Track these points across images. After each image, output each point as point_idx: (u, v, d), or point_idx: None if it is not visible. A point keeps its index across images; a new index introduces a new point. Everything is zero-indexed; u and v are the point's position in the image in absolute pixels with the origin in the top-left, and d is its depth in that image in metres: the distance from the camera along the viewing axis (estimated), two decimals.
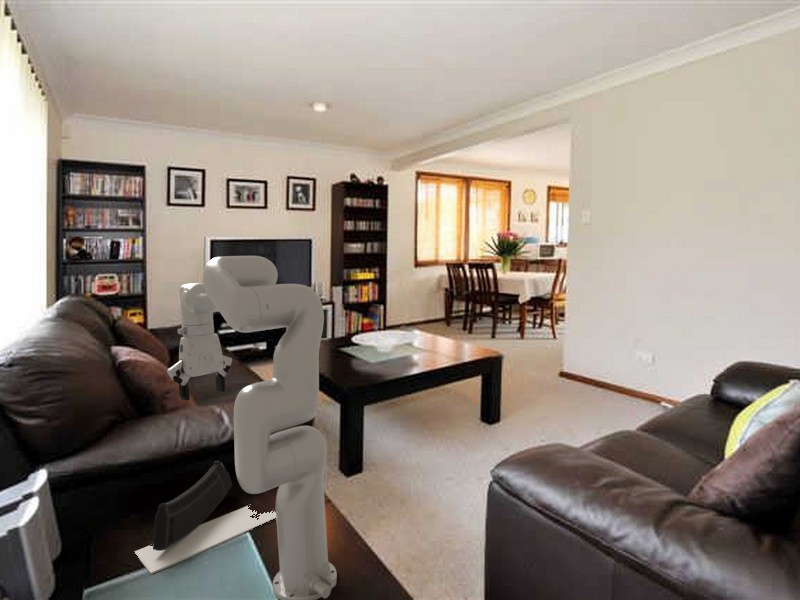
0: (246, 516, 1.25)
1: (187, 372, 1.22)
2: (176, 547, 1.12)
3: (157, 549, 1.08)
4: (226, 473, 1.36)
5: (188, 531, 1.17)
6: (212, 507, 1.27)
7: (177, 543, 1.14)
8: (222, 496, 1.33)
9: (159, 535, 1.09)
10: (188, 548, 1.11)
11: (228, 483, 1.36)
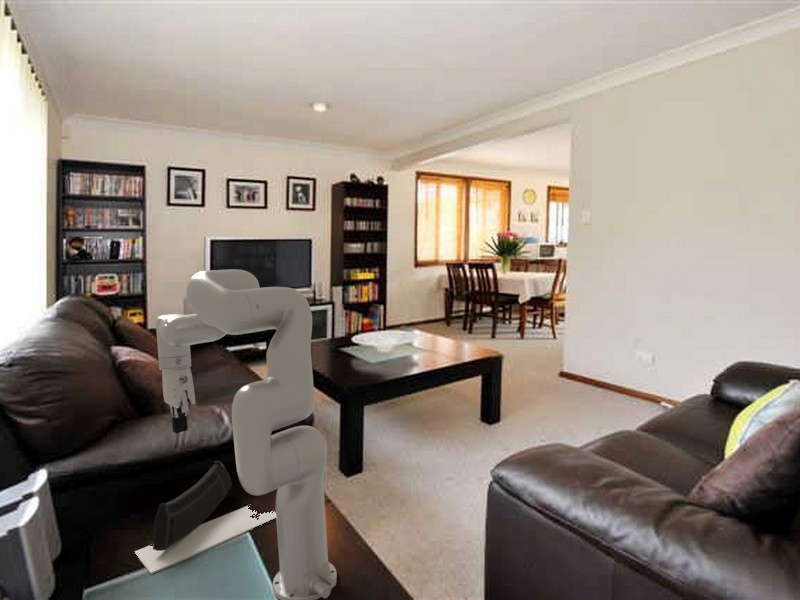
0: (246, 516, 1.25)
1: (194, 400, 1.25)
2: (176, 547, 1.12)
3: (157, 549, 1.08)
4: (226, 473, 1.36)
5: (188, 531, 1.17)
6: (212, 507, 1.27)
7: (177, 543, 1.14)
8: (222, 496, 1.33)
9: (159, 535, 1.09)
10: (188, 548, 1.11)
11: (228, 483, 1.36)
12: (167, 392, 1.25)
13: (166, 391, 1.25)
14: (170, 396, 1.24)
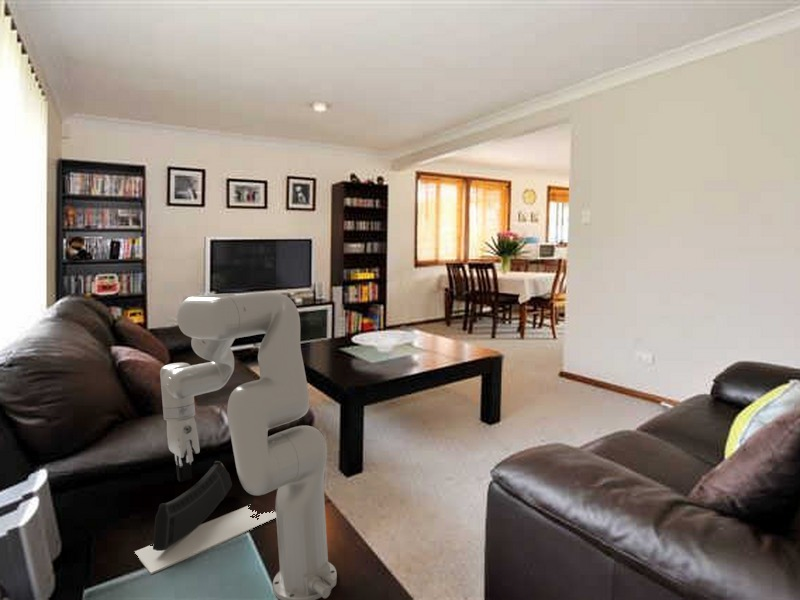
0: (246, 516, 1.25)
1: (198, 449, 1.25)
2: (176, 547, 1.12)
3: (157, 549, 1.08)
4: (226, 473, 1.36)
5: (188, 531, 1.17)
6: (212, 507, 1.27)
7: (177, 543, 1.14)
8: (222, 496, 1.33)
9: (159, 535, 1.09)
10: (188, 548, 1.11)
11: (228, 483, 1.36)
12: (171, 441, 1.26)
13: (170, 440, 1.26)
14: (174, 446, 1.24)
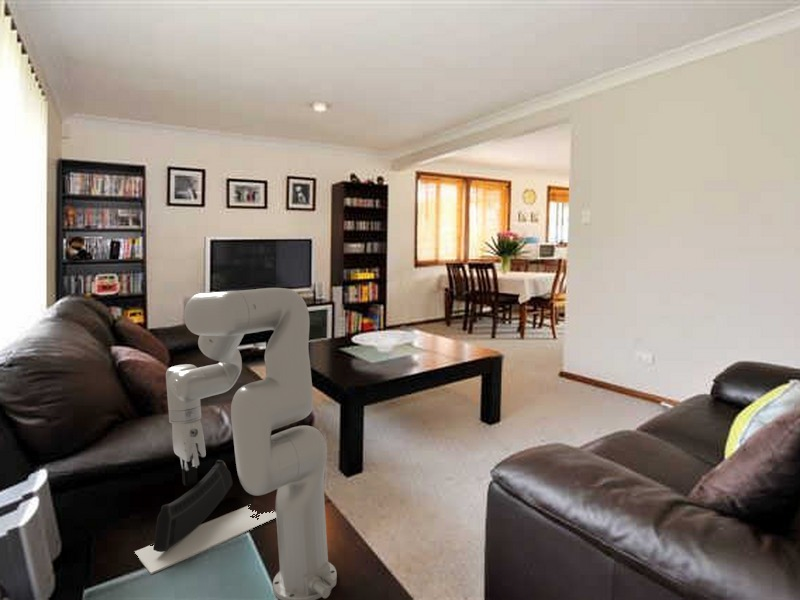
0: (246, 516, 1.25)
1: (205, 453, 1.23)
2: (176, 547, 1.12)
3: (157, 550, 1.08)
4: (228, 472, 1.35)
5: (188, 532, 1.17)
6: (212, 506, 1.27)
7: (177, 543, 1.14)
8: (222, 495, 1.33)
9: (160, 536, 1.09)
10: (188, 548, 1.11)
11: (229, 482, 1.36)
12: (177, 445, 1.23)
13: (176, 443, 1.23)
14: (180, 449, 1.22)
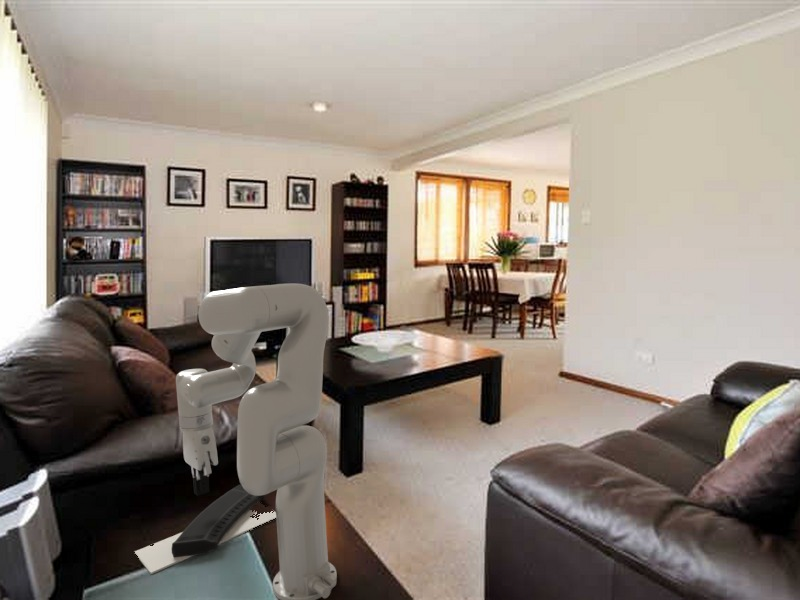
0: (246, 516, 1.25)
1: (217, 461, 1.18)
2: None
3: (172, 549, 1.08)
4: None
5: None
6: None
7: None
8: None
9: (186, 548, 1.08)
10: None
11: None
12: (188, 453, 1.18)
13: (187, 451, 1.18)
14: (191, 457, 1.17)
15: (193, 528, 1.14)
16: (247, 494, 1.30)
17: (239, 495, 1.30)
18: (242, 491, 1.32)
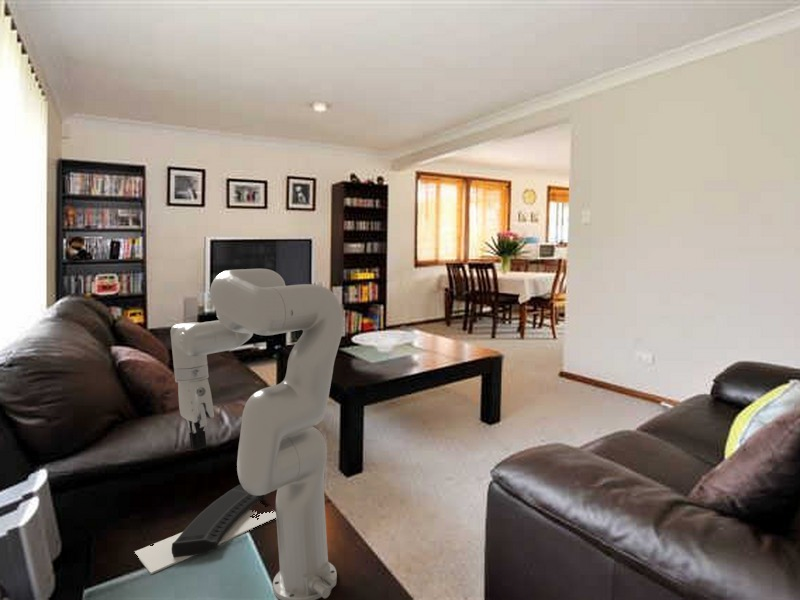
0: (246, 516, 1.25)
1: (213, 413, 1.17)
2: None
3: (172, 549, 1.08)
4: None
5: None
6: None
7: None
8: None
9: (186, 548, 1.08)
10: None
11: None
12: (184, 406, 1.17)
13: (183, 405, 1.18)
14: (187, 410, 1.16)
15: (193, 528, 1.14)
16: (247, 494, 1.30)
17: (239, 495, 1.30)
18: (242, 491, 1.32)
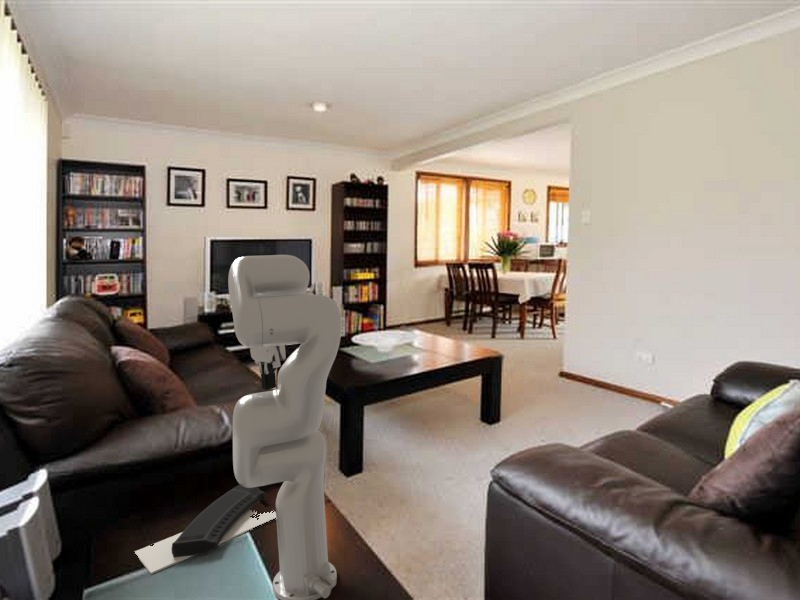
0: (246, 516, 1.25)
1: (285, 355, 1.23)
2: None
3: (172, 549, 1.08)
4: None
5: None
6: None
7: None
8: None
9: (186, 548, 1.08)
10: None
11: None
12: (257, 347, 1.22)
13: None
14: (261, 351, 1.21)
15: (193, 528, 1.14)
16: (247, 494, 1.30)
17: (239, 495, 1.30)
18: (242, 491, 1.32)
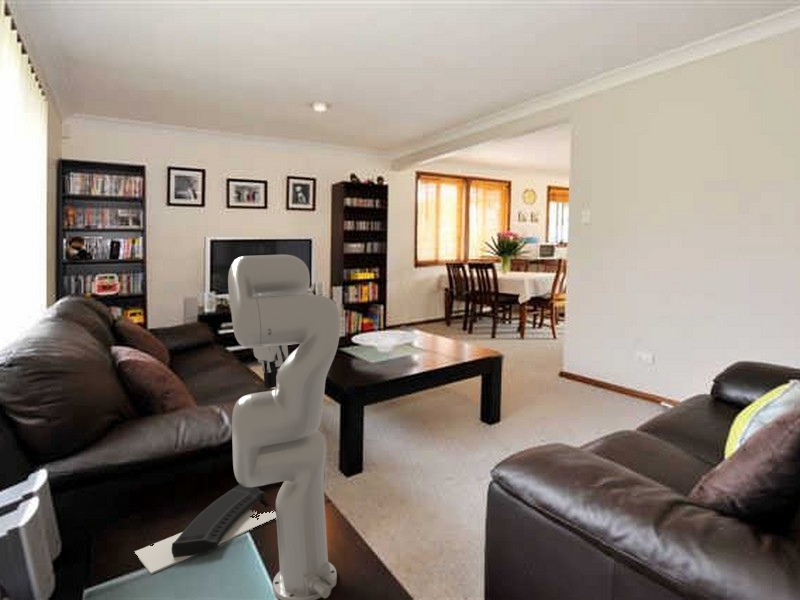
0: (246, 516, 1.25)
1: (287, 354, 1.23)
2: None
3: (172, 549, 1.08)
4: None
5: None
6: None
7: None
8: None
9: (186, 548, 1.08)
10: None
11: None
12: (260, 346, 1.23)
13: None
14: (264, 350, 1.22)
15: (193, 528, 1.14)
16: (247, 494, 1.30)
17: (239, 495, 1.30)
18: (242, 491, 1.32)
